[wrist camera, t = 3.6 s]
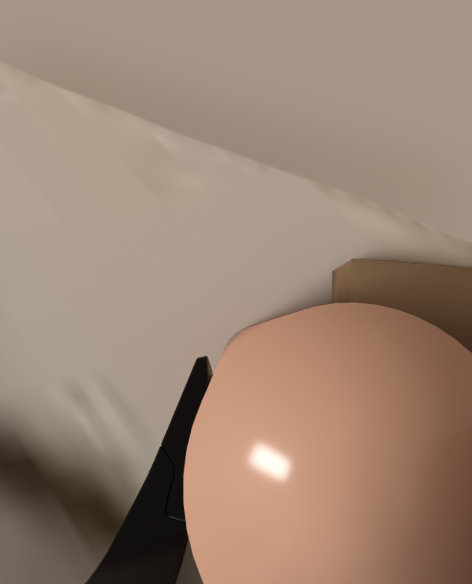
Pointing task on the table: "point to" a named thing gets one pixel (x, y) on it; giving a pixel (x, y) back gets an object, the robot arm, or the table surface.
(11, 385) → the table surface
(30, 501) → the table surface
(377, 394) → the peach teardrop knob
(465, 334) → the walnut plinth
